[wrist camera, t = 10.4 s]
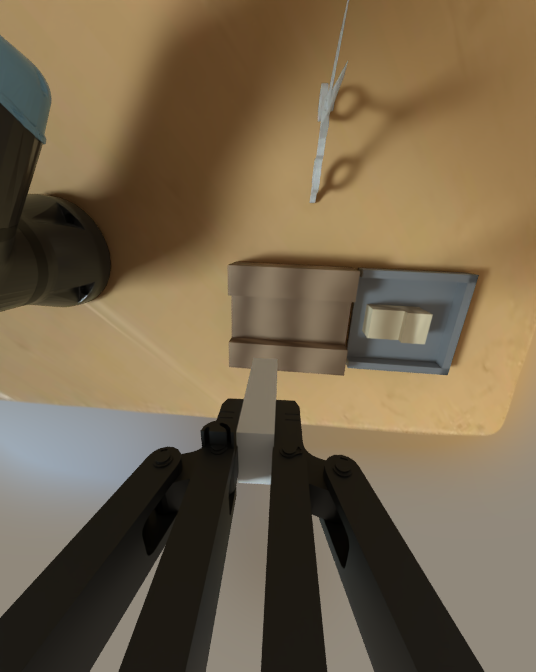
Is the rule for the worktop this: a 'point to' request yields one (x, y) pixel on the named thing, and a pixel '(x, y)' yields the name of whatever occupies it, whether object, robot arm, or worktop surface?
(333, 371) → the slot board
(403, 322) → the chip
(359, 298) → the tray
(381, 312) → the cream square block
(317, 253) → the worktop surface
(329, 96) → the scissors
